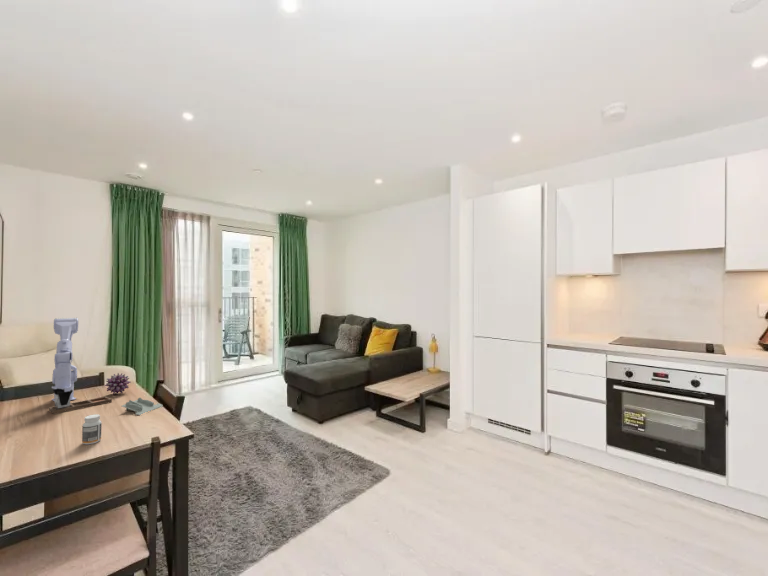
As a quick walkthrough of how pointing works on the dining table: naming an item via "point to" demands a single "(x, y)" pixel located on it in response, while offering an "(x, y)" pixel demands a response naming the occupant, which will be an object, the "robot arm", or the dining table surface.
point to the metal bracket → (141, 406)
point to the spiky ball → (117, 383)
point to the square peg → (58, 404)
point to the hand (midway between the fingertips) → (62, 404)
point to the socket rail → (90, 403)
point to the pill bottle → (91, 429)
